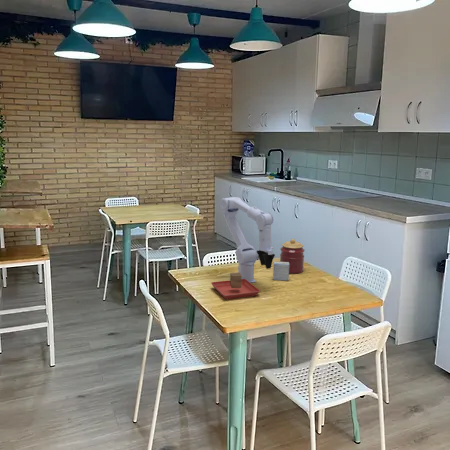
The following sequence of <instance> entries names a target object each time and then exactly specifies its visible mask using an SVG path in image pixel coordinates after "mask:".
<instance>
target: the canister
mask: <svg viewBox="0 0 450 450" xmlns="http://www.w3.org/2000/svg"><path fill="white" fill-rule="evenodd" d="M303 247H304V245H303V244H302V243H301V242H298V241H296V239H294V238H291V239H290V240H289V241H288V240H287V241H285V242H283V243H282V244H281V247H280V248H279V249H280V254H279V256H280V257H279V262H289V274H301V273H303V271H304V268H305V267H304V262H305V261H304V260H305V254H304V252H305V249H304V248H303Z"/></svg>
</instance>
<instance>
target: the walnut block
mask: <svg viewBox="0 0 450 450" xmlns="http://www.w3.org/2000/svg"><path fill="white" fill-rule="evenodd" d="M229 274H230V277H229V280H230V286H231V288H241V280H242V275H241V274H240V273H238V272H229Z"/></svg>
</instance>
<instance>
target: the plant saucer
mask: <svg viewBox="0 0 450 450" xmlns="http://www.w3.org/2000/svg"><path fill="white" fill-rule="evenodd" d="M210 284H211V285H212V286H213V288H214V289H215V290H216V291H217V292H218V293H219V295H221V296H222V297H223V298H224V299H225V300H234V299H240V298H249V297H256V296H257V295H258V294H259V293H260V292H261V290H260V289H259V288H257V287H256V286H255V285H254V284H252V283H250V282H248V281H247V280H246V279H242V280H241V288H231V286H230V279H229V280H220V281H212V282H210Z"/></svg>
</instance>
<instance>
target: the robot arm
mask: <svg viewBox="0 0 450 450" xmlns="http://www.w3.org/2000/svg"><path fill="white" fill-rule="evenodd" d="M219 209H220V211H221V214H222V215H223V219H224V221H225V223H226V225H227V228H228V230H229V232H230V234H231V237H232V239H233V241H234V243H235V245H236V250H235V256H236V261H237V263H238V266H237V267H238V269H237V273H240V274H241V275H242V279H246V280H247V281H248V282H250V283H251V284H252V283H257V281H256V279H255V264H256V261H257V260H258V259H259V263H260V265H261V266H265V269H268V270H270V269H271V267H272V266H273V262H274V261H273V260H274V258H275V257H276V254H275V253H273V250H275V247H273V246H272V225H273V223H274V217H273V215H272V214H271V213H270V212H265V211H264V210H261V209H259V208H258V206H256V205H255V206H251V205H249V204H247V203H246V202H244V201H243V200H242V198H240V197H239V196H232V197H222V198H221V199H220V201H219ZM239 210H240V211H242V212H244V213H245V214H246V215H247V217H248V218H250V219H251V220H253V221H254V222H255V224H256V225H257V229H258V242H259V245H258V250H256V249H255V248H254V246H253V245H252V244H250V243H248V242H247V240H246V237H245V235H244V233H243V231H242V228H241V227H240V224H239V222H238V220H237V219H236V215H238V212H239Z"/></svg>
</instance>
